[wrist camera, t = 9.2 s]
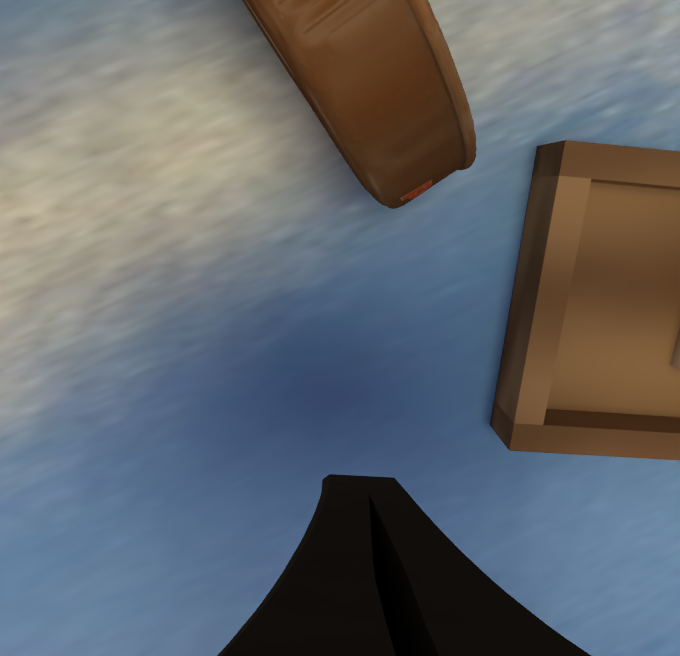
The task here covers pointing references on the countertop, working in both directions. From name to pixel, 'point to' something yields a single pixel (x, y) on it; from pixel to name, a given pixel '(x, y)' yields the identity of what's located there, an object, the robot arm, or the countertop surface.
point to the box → (595, 307)
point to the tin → (377, 87)
